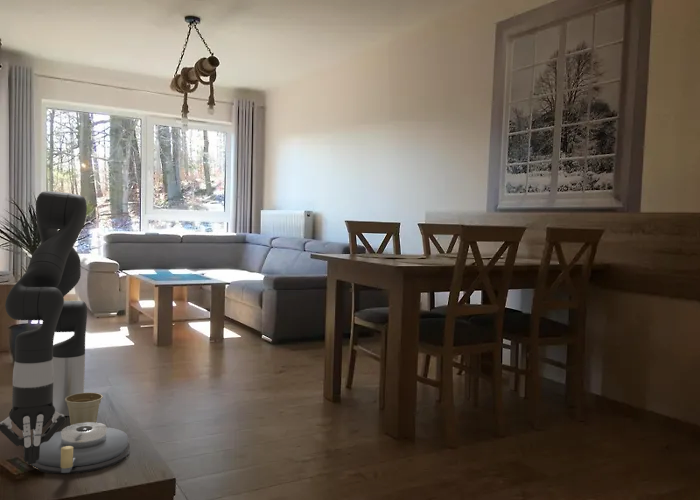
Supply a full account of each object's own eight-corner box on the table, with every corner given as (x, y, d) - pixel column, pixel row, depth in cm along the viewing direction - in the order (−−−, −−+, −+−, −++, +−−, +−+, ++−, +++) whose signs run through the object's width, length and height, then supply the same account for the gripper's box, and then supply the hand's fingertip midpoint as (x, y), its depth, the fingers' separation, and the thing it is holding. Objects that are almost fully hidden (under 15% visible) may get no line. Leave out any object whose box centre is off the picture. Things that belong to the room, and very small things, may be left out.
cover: (57, 438, 141) (58, 425, 140) (101, 431, 146) (101, 419, 146) (64, 451, 132) (65, 438, 132) (110, 444, 138) (110, 431, 138)
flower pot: (87, 435, 152) (88, 403, 152) (56, 432, 154) (57, 400, 154) (108, 424, 161) (109, 394, 161) (79, 421, 163) (80, 391, 163)
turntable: (28, 442, 142) (29, 418, 142) (117, 429, 154) (118, 407, 154) (39, 482, 121) (39, 454, 120) (141, 463, 132) (142, 438, 132)
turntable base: (25, 448, 142) (25, 443, 142) (119, 433, 154) (119, 429, 154) (34, 481, 124) (34, 476, 124) (139, 462, 136) (139, 457, 136)
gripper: (65, 374, 127) (63, 451, 127) (-5, 380, 120) (-7, 462, 120) (70, 382, 121) (68, 463, 121) (-3, 389, 113) (-5, 475, 114)
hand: (31, 462), depth 121 cm, fingers closed
